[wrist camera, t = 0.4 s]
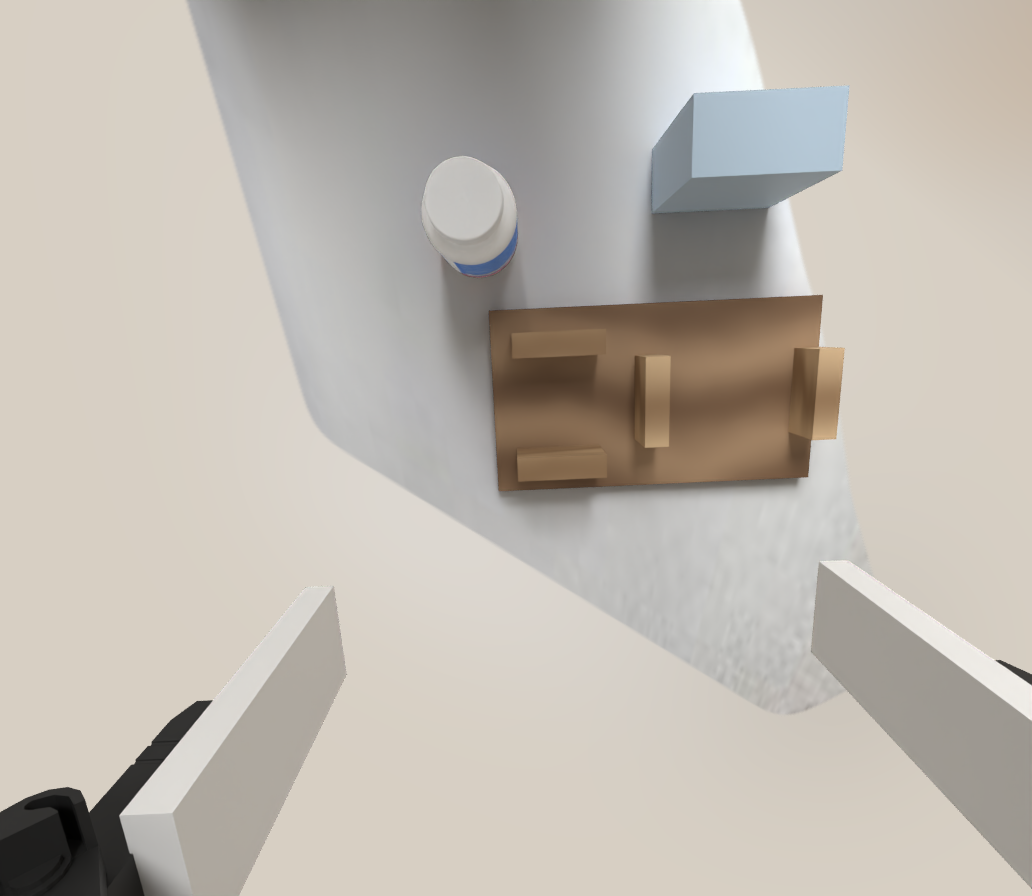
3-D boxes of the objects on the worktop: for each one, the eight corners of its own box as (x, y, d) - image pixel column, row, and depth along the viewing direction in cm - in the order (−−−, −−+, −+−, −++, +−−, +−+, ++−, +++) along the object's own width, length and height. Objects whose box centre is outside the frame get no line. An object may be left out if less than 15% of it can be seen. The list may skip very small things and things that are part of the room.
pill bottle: (532, 224, 35) (539, 181, 25) (492, 293, 36) (484, 277, 26) (463, 178, 34) (444, 117, 25) (424, 250, 35) (391, 218, 26)
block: (652, 149, 34) (694, 93, 26) (771, 143, 34) (849, 85, 26) (651, 213, 35) (691, 177, 27) (768, 208, 35) (841, 170, 27)
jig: (489, 311, 36) (486, 308, 32) (812, 296, 36) (853, 290, 32) (499, 486, 39) (497, 505, 34) (799, 472, 39) (834, 489, 34)
